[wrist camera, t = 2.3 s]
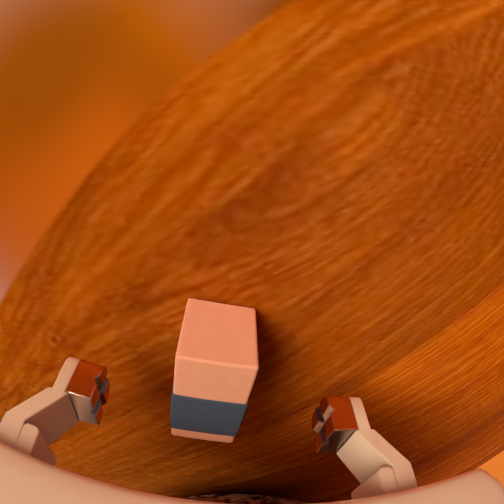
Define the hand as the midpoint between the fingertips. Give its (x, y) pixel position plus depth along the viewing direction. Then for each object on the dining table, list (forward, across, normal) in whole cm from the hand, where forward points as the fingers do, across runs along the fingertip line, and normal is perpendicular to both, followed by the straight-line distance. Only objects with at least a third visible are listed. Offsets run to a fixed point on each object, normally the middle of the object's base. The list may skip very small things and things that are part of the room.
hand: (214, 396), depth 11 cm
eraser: (+2, 0, 0) cm, 2 cm away
